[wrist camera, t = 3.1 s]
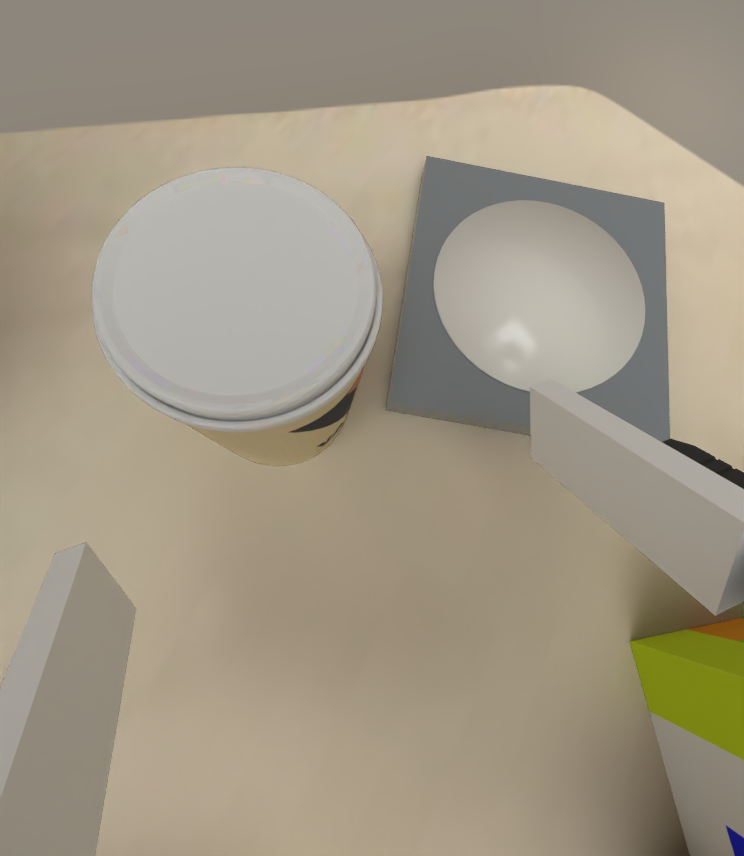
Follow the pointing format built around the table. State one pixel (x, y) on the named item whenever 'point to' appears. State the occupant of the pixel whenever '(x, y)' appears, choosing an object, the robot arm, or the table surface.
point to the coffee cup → (240, 309)
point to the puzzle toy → (700, 728)
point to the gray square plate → (531, 300)
